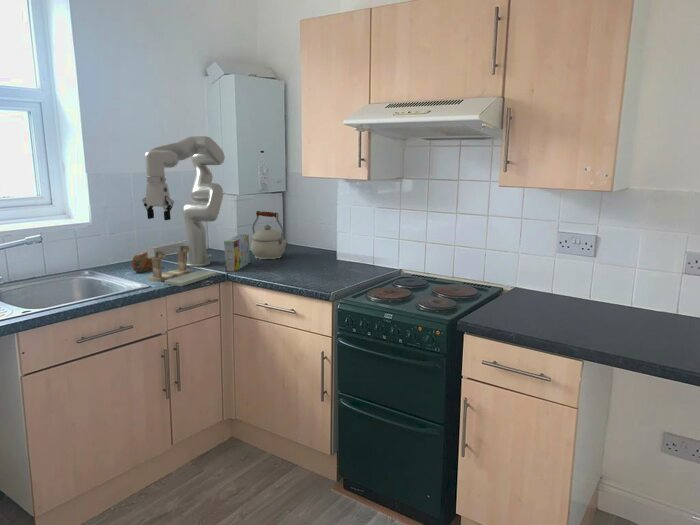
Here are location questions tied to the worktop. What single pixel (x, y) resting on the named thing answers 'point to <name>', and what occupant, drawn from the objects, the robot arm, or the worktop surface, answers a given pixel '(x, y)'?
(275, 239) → the kettle
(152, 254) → the rail
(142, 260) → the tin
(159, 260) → the rack
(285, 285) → the worktop surface
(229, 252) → the snack box
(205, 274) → the board
